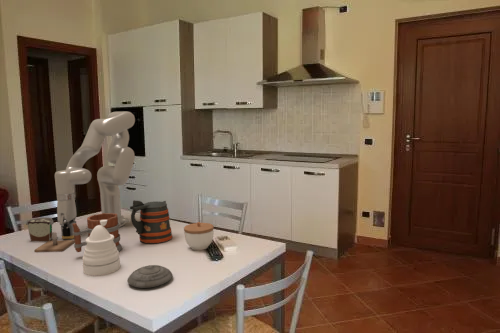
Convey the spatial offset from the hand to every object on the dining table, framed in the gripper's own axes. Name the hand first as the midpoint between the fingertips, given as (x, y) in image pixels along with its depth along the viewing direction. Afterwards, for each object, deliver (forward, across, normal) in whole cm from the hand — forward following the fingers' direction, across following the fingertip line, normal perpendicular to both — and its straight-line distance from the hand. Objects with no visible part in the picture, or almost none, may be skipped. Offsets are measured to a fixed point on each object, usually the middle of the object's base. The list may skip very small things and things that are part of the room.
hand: (69, 233), depth 182 cm
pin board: (+2, +13, 0) cm, 14 cm away
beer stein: (+2, +7, +41) cm, 41 cm away
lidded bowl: (+2, +18, +64) cm, 66 cm away
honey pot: (+2, +39, +30) cm, 49 cm away
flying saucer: (+2, +51, +51) cm, 72 cm away
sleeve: (+2, 0, 0) cm, 2 cm away
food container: (+2, +2, -11) cm, 11 cm away
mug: (+2, +21, +22) cm, 31 cm away
